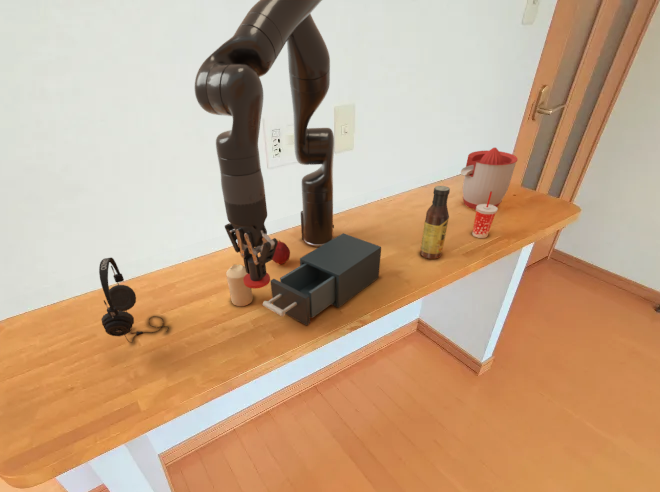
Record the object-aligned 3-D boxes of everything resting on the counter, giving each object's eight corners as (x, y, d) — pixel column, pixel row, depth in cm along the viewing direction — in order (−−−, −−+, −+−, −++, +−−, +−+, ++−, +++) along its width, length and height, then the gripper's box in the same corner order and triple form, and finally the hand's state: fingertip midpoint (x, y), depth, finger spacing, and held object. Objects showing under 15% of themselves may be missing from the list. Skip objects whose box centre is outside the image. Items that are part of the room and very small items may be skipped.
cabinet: (338, 308, 95) (338, 275, 89) (301, 289, 102) (299, 258, 96) (378, 277, 105) (381, 246, 99) (342, 263, 112) (343, 232, 106)
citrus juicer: (446, 198, 146) (457, 143, 133) (490, 195, 147) (505, 139, 134) (464, 215, 133) (478, 156, 121) (512, 211, 134) (530, 152, 122)
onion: (294, 261, 113) (292, 236, 108) (285, 270, 109) (283, 245, 104) (276, 257, 115) (274, 233, 110) (267, 267, 111) (264, 242, 106)
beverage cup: (481, 229, 125) (492, 186, 116) (494, 237, 121) (507, 193, 112) (465, 232, 124) (475, 189, 115) (477, 240, 119) (489, 196, 110)
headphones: (169, 351, 85) (141, 275, 72) (115, 363, 83) (77, 287, 70) (168, 312, 96) (144, 240, 84) (121, 321, 94) (89, 249, 81)
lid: (238, 282, 81) (234, 260, 78) (258, 270, 84) (255, 249, 81) (255, 291, 78) (252, 269, 75) (275, 280, 81) (273, 258, 78)
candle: (235, 308, 96) (229, 275, 90) (228, 297, 100) (222, 264, 94) (256, 302, 98) (251, 268, 92) (248, 291, 102) (243, 258, 96)
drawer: (291, 337, 86) (288, 310, 81) (257, 317, 92) (253, 290, 87) (350, 293, 98) (351, 267, 93) (317, 278, 104) (316, 253, 99)
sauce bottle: (442, 260, 111) (456, 193, 98) (419, 259, 112) (430, 192, 99) (440, 249, 116) (453, 184, 103) (419, 248, 117) (429, 183, 104)
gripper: (286, 197, 67) (292, 278, 78) (236, 180, 75) (248, 256, 86) (253, 211, 63) (265, 295, 74) (204, 191, 71) (221, 270, 82)
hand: (256, 274), depth 80 cm, fingers closed on lid, 2 cm apart
